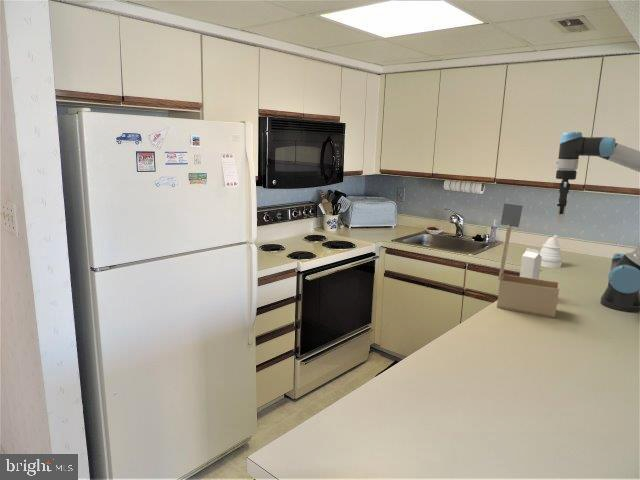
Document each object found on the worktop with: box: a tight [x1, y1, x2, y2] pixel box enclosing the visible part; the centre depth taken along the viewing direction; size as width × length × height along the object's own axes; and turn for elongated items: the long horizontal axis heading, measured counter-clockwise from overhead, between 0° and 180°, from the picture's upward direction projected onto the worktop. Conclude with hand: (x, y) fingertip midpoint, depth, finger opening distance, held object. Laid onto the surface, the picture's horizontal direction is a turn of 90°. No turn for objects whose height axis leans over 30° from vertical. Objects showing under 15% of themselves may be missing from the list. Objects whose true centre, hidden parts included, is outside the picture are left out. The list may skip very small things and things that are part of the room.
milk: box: [519, 247, 542, 279], centre depth 205 cm, size 6×6×22 cm
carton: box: [496, 273, 560, 319], centre depth 189 cm, size 22×11×12 cm, turn 62°
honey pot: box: [539, 234, 563, 269], centre depth 262 cm, size 13×13×18 cm
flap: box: [497, 202, 524, 281], centre depth 189 cm, size 32×12×7 cm
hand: (559, 219), depth 193 cm, fingers open, 13 cm apart
